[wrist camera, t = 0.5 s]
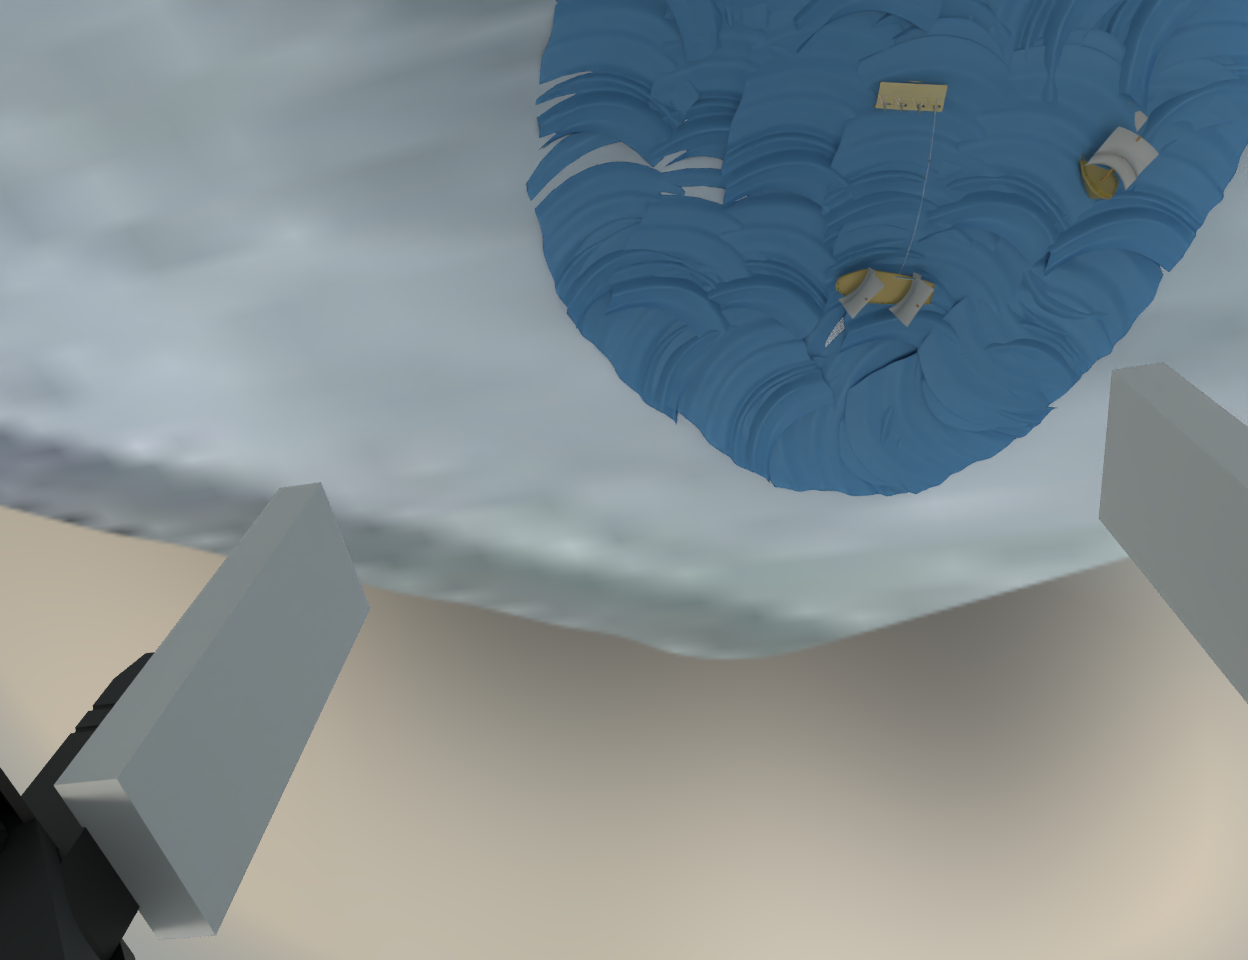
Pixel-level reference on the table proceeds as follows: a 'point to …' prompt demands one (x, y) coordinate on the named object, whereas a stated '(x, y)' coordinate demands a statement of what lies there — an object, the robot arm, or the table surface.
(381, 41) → the table surface
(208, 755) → the robot arm
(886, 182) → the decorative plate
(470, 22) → the table surface
